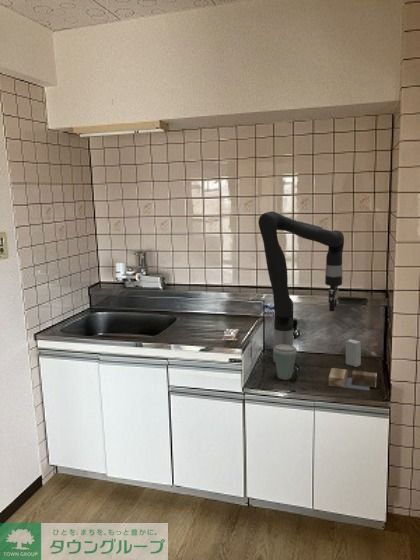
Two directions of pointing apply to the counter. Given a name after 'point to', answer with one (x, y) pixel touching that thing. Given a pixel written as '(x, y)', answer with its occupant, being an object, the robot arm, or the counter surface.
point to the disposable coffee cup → (285, 360)
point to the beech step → (338, 377)
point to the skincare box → (353, 352)
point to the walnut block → (364, 378)
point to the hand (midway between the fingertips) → (332, 308)
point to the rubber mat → (349, 385)
